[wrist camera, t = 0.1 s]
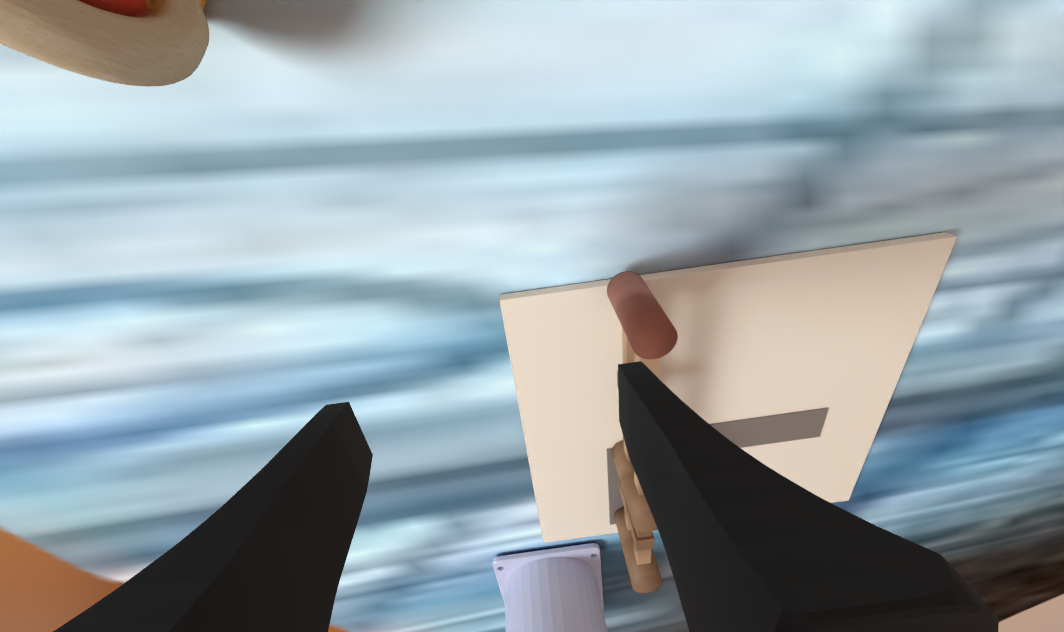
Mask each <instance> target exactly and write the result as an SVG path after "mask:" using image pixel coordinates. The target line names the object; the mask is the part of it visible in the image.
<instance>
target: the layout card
mask: <svg viewBox="0 0 1064 632" xmlns="http://www.w3.org/2000/svg"><path fill="white" fill-rule="evenodd" d="M956 239H957V236H955V235H952V234H950V233H947V232H944V233H936V234H929V235H922V236H915V237H908V238H901V239H894V240H886V241H879V242H872V243H865V244H858V245H851V246H843V247H836V248H829V249H822V250H815V251H808V252H801V253H793V254H786V255H779V256H772V257H765V258H758V259H750V260H743V261H736V262H729V263H722V264H715V265H707V266H700V267H693V268H686V269H679V270H672V271H665V272H657V273H650V274H643V275H640V276H641V277H642V279H643V280H644V282H645V283H646V285H647V286H648V288H649V289H650V291H651V292H652V294H653V295H654V297H655V298H656V300H657V301H658V303H659V305H660V306H661V308H662V309H663V311H664V312H665V314H666V315H667V317H668V318H669V320H670V321H671V323H672V324H673V326H674V327H675V329H676V331H677V335H678V338H677V343H676V345H675V346H674V348H673V349H672V350H671V351H670V352H669V353H668V354H666V355H665V356H663V357H661V358H660V370H659V379H660V380H661V381H662V382H663V383H664V384H665V385H666V386H667V387H668V388H669V389H670V390H671V391H672V392H673V393H674V394H675V395H677V396H678V397H679V398H680V399H681V400H682V401H683V402H684V403H685V404H687V405H688V406H689V407H690V408H691V409H692V410H693V411H694V412H696V413H697V414H698V415H699V416H700V417H701V418H703V419H704V420H705V421H706V422H707V423H709V424H710V425H711V426H712V427H714V428H715V429H716V430H717V431H719V432H720V433H721V434H722V435H724V436H725V437H726V438H728V439H729V440H730V441H732V442H733V443H734V444H736V445H737V446H738V447H740V448H741V449H742V450H744V451H745V452H747V453H748V454H750V455H751V456H753V457H754V458H756V459H757V460H759V461H760V462H761V463H763V464H764V465H766V466H768V467H769V468H771V469H772V470H774V471H776V472H777V473H779V474H780V475H782V476H784V477H786V478H787V479H789V480H791V481H792V482H794V483H796V484H798V485H799V486H801V487H803V488H804V489H806V490H808V491H810V492H811V493H813V494H815V495H817V496H818V497H820V498H822V499H824V500H826V501H828V502H830V503H832V502H839V501H847V500H849V498H850V496H851V493H852V491H853V488H854V486H855V484H856V481H857V479H858V476H859V474H860V471H861V469H862V467H863V464H864V462H865V459H866V457H867V454H868V452H869V450H870V447H871V445H872V442H873V440H874V437H875V435H876V433H877V430H878V428H879V425H880V423H881V421H882V418H883V416H884V413H885V411H886V408H887V406H888V404H889V401H890V399H891V396H892V394H893V391H894V389H895V387H896V384H897V382H898V379H899V377H900V375H901V372H902V370H903V367H904V365H905V362H906V360H907V358H908V355H909V353H910V350H911V348H912V345H913V343H914V341H915V338H916V336H917V333H918V331H919V329H920V326H921V324H922V321H923V319H924V316H925V314H926V312H927V309H928V307H929V304H930V302H931V299H932V297H933V295H934V292H935V290H936V287H937V285H938V282H939V280H940V278H941V275H942V273H943V270H944V268H945V266H946V263H947V261H948V258H949V256H950V253H951V251H952V249H953V246H954V244H955V241H956ZM610 280H611V279H607V280H600V281H593V282H586V283H579V284H571V285H564V286H557V287H550V288H543V289H536V290H529V291H521V292H514V293H507V294H500V305H501V311H502V316H503V322H504V327H505V333H506V338H507V344H508V349H509V355H510V360H511V366H512V371H513V377H514V382H515V388H516V393H517V399H518V404H519V410H520V415H521V421H522V426H523V432H524V437H525V443H526V448H527V454H528V459H529V465H530V470H531V476H532V482H533V487H534V493H535V498H536V504H537V509H538V515H539V520H540V526H541V531H542V537H543V542H544V543H546V542H553V541H560V540H567V539H574V538H582V537H589V536H596V535H603V534H610V533H617V532H618V530H617V526H616V522H615V518H614V513H615V511H616V510H617V509H619V508H620V507H623V506H624V505H623V501H622V498H621V494H620V491H619V480H620V479H619V476H618V473H617V469H616V466H615V462H614V459H613V456H612V447H613V446H614V445H615V444H616V443H617V442H619V441H621V440H623V441H624V437H623V434H622V430H621V426H620V422H619V392H618V387H617V372H618V364H623V359H622V325H621V323H620V321H619V319H618V317H617V315H616V313H615V310H614V308H613V306H612V304H611V302H610V300H609V298H608V295H607V286H608V284H609V282H610Z"/></svg>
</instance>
